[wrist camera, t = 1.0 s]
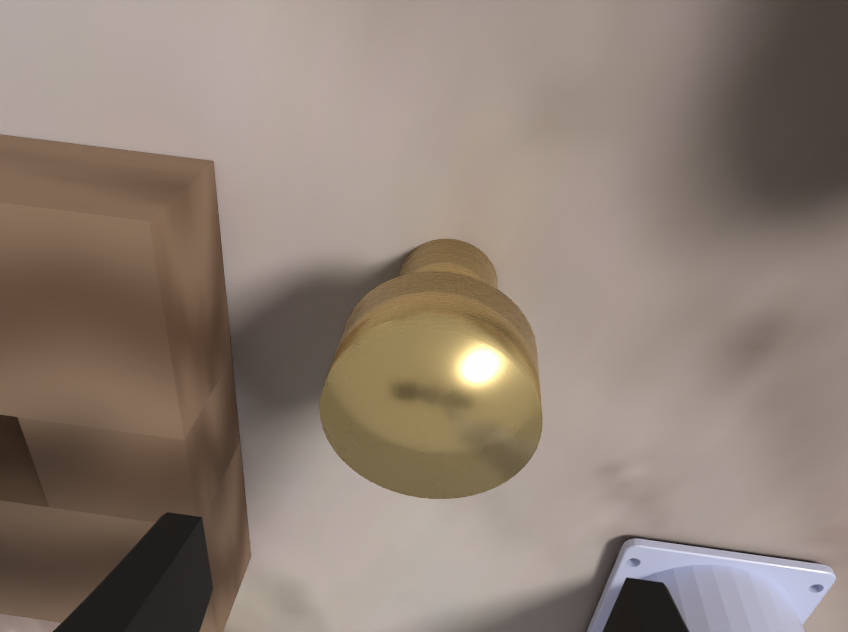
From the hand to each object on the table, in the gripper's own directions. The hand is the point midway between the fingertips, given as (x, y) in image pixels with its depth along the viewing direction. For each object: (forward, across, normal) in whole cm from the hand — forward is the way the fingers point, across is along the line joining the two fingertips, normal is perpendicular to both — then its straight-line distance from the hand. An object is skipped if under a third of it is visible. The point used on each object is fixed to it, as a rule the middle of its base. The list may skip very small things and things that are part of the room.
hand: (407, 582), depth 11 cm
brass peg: (+10, 0, 0) cm, 10 cm away
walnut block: (+10, +14, +6) cm, 18 cm away
